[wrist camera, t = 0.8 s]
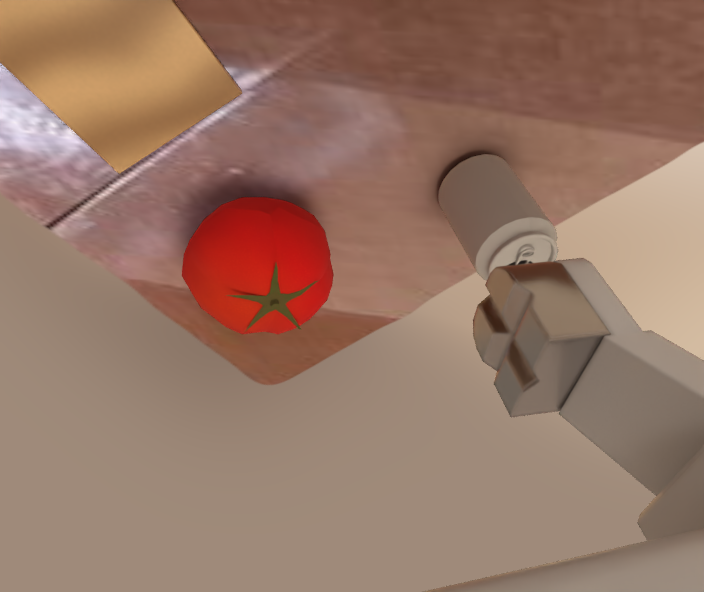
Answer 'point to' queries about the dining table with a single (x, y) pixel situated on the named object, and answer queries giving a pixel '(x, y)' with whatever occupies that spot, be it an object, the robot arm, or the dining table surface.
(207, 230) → the tomato
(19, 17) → the cork mat
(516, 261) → the can
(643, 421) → the robot arm
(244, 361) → the dining table surface
